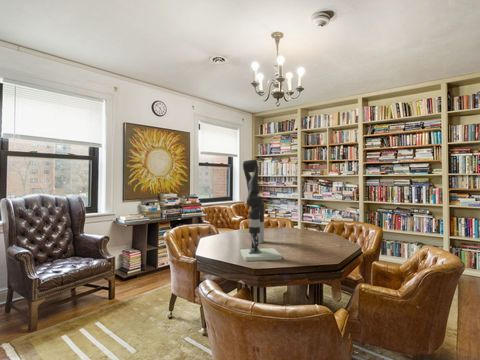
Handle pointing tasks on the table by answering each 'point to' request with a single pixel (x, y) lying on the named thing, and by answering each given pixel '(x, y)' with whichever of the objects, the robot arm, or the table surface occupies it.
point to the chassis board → (261, 255)
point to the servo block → (253, 251)
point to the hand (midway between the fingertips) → (254, 249)
